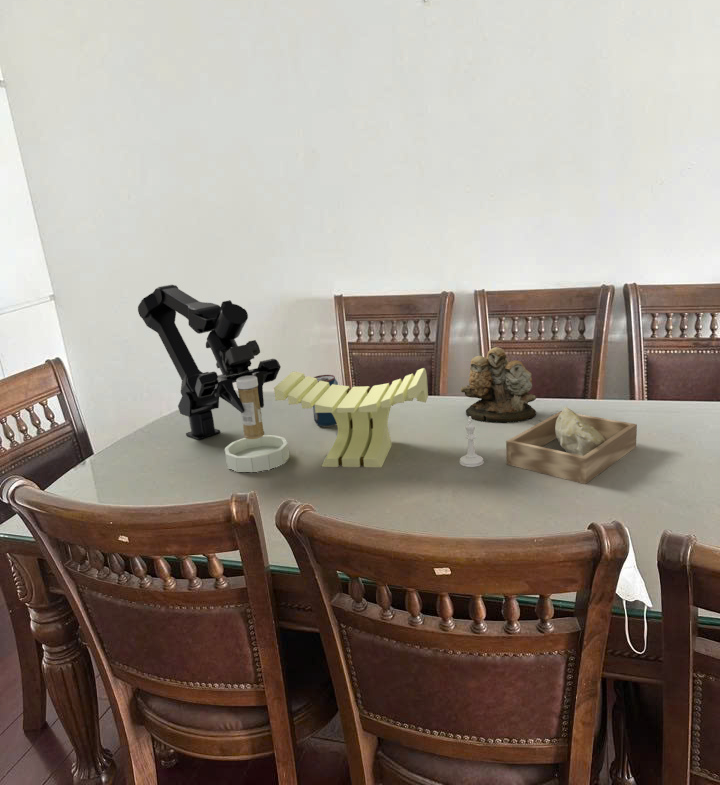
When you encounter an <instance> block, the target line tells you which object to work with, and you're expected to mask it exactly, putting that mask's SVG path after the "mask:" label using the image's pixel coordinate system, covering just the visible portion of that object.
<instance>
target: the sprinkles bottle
mask: <svg viewBox="0 0 720 785" xmlns="http://www.w3.org/2000/svg"><path fill="white" fill-rule="evenodd" d="M235 383H236V384H235V385H236V388H237V390H238V397H239V399H240V401H241V403H242V405H243V408H244V413H241V412H240V414H241V423H242V428H243V436H244V437H243V438H247V439H257V438H260V437H262V436H263V435H265V431H264V425H263V424H264V423H263V418H262V416H263V415H262V408H261V407H260V401H259V395H258V380H257V377H256V376H243V377H239V378H237V379H236V382H235Z"/></svg>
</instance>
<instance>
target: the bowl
mask: <svg viewBox="0 0 720 785" xmlns="http://www.w3.org/2000/svg"><path fill="white" fill-rule="evenodd" d="M288 445H289V443H288V442H287V440H286V438H285V437H282V436H279V435H275V434H272V435H271V434H264V435H263V436H262V437H260V438H257V439H247V438H245V437H243V438H240V439H236V440H235V441H232V442H230V443H229V444H228V445H227V446H226V447H224V454H225V462H226V466H228V467H227V469H228V468H229V469H232V470H234V471H233V472H235V471H237V472H256V471H262V470H268V469H271V468H274V467H276V466H278V465H281V464H283V463H284V462H285V461H286V460H287V459H288V458H289V459H290V452H289V446H288ZM289 459H288V460H289ZM288 460H287V461H288ZM287 461H286V462H287ZM286 462H285V463H286ZM285 463H284V464H285ZM284 464H283V465H284ZM281 466H282V465H281ZM276 468H277V467H276ZM229 469H228V470H229ZM274 469H275V468H274ZM232 470H231V471H232ZM268 471H269V470H268ZM237 472H236V473H237ZM262 472H263V471H262Z"/></svg>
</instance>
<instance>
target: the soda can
mask: <svg viewBox="0 0 720 785" xmlns="http://www.w3.org/2000/svg"><path fill="white" fill-rule="evenodd" d="M312 377H313V378H317V382H319V381H325V382H329V385H330V386H331V385H332V384H334V385H339V382H338V381H337V379H336V376H335V375H333V374H321V375H316V376H312ZM312 412H313V414H312V415H313V421H314V422H315V424H316V425H317V426H318V425H319V426H318V427H321V426H322V428H328V426H330V427H334V426H336V425H337V423H336V420H335V418H334V416H333V415H332V413H315V405H314V406H313V407H312ZM333 425H334V426H333Z"/></svg>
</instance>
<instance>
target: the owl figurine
mask: <svg viewBox="0 0 720 785" xmlns="http://www.w3.org/2000/svg"><path fill="white" fill-rule="evenodd" d="M469 368H470V370H469V374H468V385H466V386H462V387H460V392H461V393H464V395H465V396H466V397H468V398H471V399H474V398H475V399H479V400H477V401H475V402H474V403H472V404H470V405H469V407H467V409H465V414H466V416H467V418H469V416H471V418H472V420H473V421H478V422H484V421H485V422H487V423H497V424H499V423H500V424H504V423H506V424H507V422H509V423H519V422H518V421H520V422H525V421H527V419H528V420H529V419H530V420H531V418H532V419H533V418H535V417H536V415H537V412H536V409H534V408H533V407H532V405H530V404H529V403H531V402H534V401H535V400H536V399H537V395H535V394H531V393H530V392H531V390H532V389H533V378H532V373H531V371H529V370H527V369H526V367H525V365H524V364H523V362H522V361H520V360H516V359H514V360H511V361H509V359H508V358H507V353H506V352H505V350H504V349H503V348H501V347H497V346H495V347H492V348H491V349H489V350H488V352H487V355H486V357H485V356H482V355H476V356H474V357H472V358H471V361H470V367H469ZM524 420H525V421H524Z"/></svg>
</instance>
